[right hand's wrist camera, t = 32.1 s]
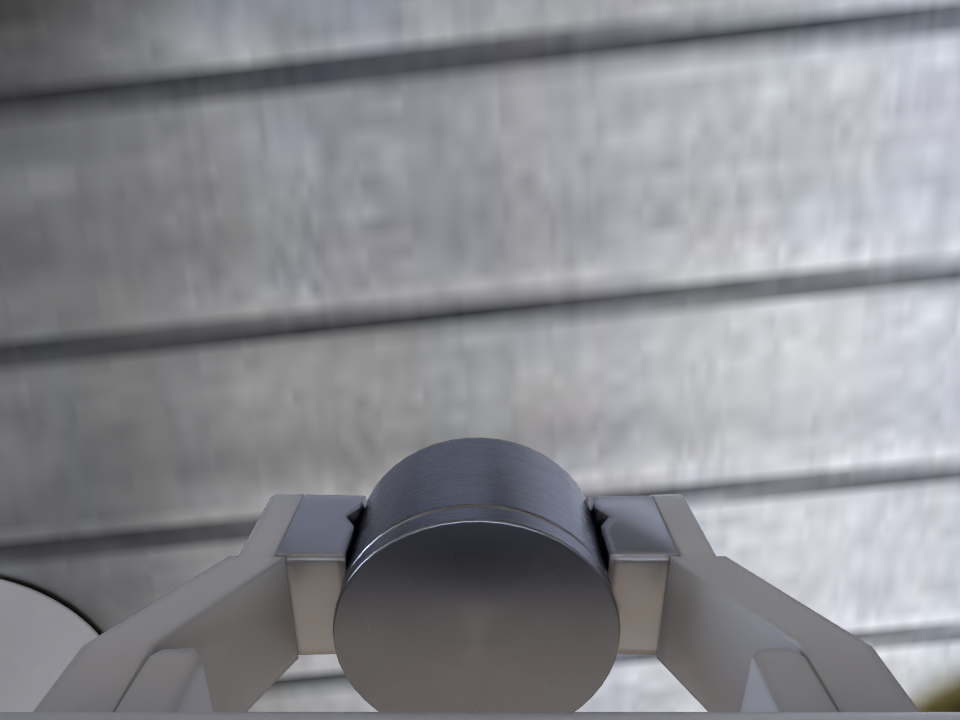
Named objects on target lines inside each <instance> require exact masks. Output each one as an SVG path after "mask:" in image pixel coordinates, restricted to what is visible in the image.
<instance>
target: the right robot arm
mask: <svg viewBox="0 0 960 720" xmlns="http://www.w3.org/2000/svg"><path fill="white" fill-rule="evenodd" d="M366 503H367V499H366V497H365V496H344V495H303V494H300V495H275V496H273V497H271V498H270V500H269V502H268V503H267V505H266V507H265V509H264V511H263V512H262V514H261V516H260V518H259V520H258V522H257V523H256V525H255V527H254V529H253V531H252V532H251V534H250V536H249V538H248V540H247V542H246V543H245V545H244V547H243V549H242V551H241V552H240V554H239V556H229V557H227V558H226V559H224V560H223V561H221V562H219V563H218V564H216V565H214V566H213V567H211V568H209V569H208V570H206V571H204V572H203V573H201V574H200V575H198V576H196V577H195V578H193V579H191V580H190V581H188V582H186V583H185V584H183V585H181V586H180V587H178V588H177V589H175V590H173V591H172V592H170V593H168V594H167V595H165V596H163V597H162V598H160V599H158V600H157V601H155V602H154V603H152V604H150V605H149V606H147V607H145V608H144V609H142V610H140V611H139V612H137V613H136V614H134V615H132V616H131V617H129V618H127V619H126V620H124V621H122V622H121V623H119V624H117V625H116V626H114V627H113V628H111V629H109V630H108V631H106V632H104V633H103V634H101V635H99V634H98V633H97V632H96V631H95V630H94V629H93V628H92V627H91V626H90V625H89V624H88V623H86V622H85V621H84V620H83V619H82V618H81V617H79V616H78V615H77V614H76V613H74V612H73V611H71V610H70V609H68V608H67V607H66V606H64V605H62V604H61V603H59V602H57V601H56V600H54V599H52V598H50V597H48V596H46V595H44V594H42V593H40V592H38V591H35V590H33V589H31V588H28V587H25V586H23V585H20V584H17V583H13V582H10V581H6V580H2V579H0V720H960V712H920V711H919V710H918V709H917V707H916V706H915V705H914V703H913V702H912V701H911V699H910V698H909V696H908V695H907V694H906V692H905V691H904V690H903V688H902V687H901V686H900V684H899V683H898V681H897V680H896V679H895V677H894V676H893V675H892V673H891V672H890V671H889V669H888V668H887V666H886V665H885V664H884V662H883V661H882V660H881V658H880V657H879V656H878V654H877V653H876V651H875V650H874V649H873V647H872V646H870V645H868V644H867V643H865V642H863V641H862V640H860V639H859V638H857V637H855V636H854V635H852V634H850V633H849V632H847V631H846V630H844V629H842V628H841V627H839V626H837V625H836V624H834V623H833V622H831V621H829V620H828V619H826V618H824V617H823V616H821V615H820V614H818V613H816V612H815V611H813V610H811V609H810V608H808V607H807V606H805V605H803V604H802V603H800V602H799V601H797V600H795V599H794V598H792V597H790V596H789V595H787V594H786V593H784V592H782V591H781V590H779V589H777V588H776V587H774V586H773V585H771V584H769V583H768V582H766V581H764V580H763V579H761V578H760V577H758V576H756V575H755V574H753V573H751V572H750V571H748V570H747V569H745V568H743V567H742V566H740V565H738V564H737V563H735V562H734V561H732V560H730V559H729V558H727V557H725V556H716V555H715V553H714V551H713V549H712V548H711V546H710V544H709V542H708V540H707V538H706V537H705V535H704V533H703V531H702V529H701V527H700V526H699V524H698V522H697V520H696V518H695V516H694V515H693V513H692V511H691V509H690V507H689V505H688V504H687V502H686V500H685V498H684V497H683V496H681V495H680V494H669V495H650V496H606V497H589V501H588V505H589V507H590V510H591V514H592V518H593V521H594V525H595V528H596V532H597V536H598V539H599V543H600V546H601V550H602V554H603V557H604V561H605V564H606V568H607V572H608V575H609V579H610V582H611V586H612V590H613V593H614V597H615V600H616V604H617V608H618V612H619V617H620V628H621V630H620V642H619V647H618V651H617V654H644V655H657V658H658V659H659V661H660V662H661V663H662V664H663V665H664V666H665V667H666V668H667V669H668V670H669V671H670V672H671V673H672V674H673V675H674V676H675V677H676V678H677V679H678V680H679V682H680V683H681V684H682V685H683V686H684V687H685V688H686V689H687V690H688V691H689V692H690V693H691V694H692V695H693V696H694V697H695V698H696V699H697V700H698V701H699V703H700V704H701V705H702V706H703V707H704V708H705V709H706V710H707V711H708V712H247V711H248V710H249V709H250V708H251V707H252V706H253V705H254V703H255V702H256V701H257V700H258V699H259V698H260V697H261V696H262V695H263V694H264V693H265V692H266V691H267V690H268V689H269V688H270V687H271V686H272V685H273V684H274V683H275V682H276V681H277V680H278V679H279V678H280V677H281V675H282V674H283V673H284V672H285V671H286V670H287V669H288V668H289V667H290V666H291V665H292V664H293V663H294V662H295V661H296V660H297V659H298V655H311V654H336V651H335V647H334V639H333V617H334V613H335V608H336V603H337V600H338V597H339V593H340V590H341V586H342V583H343V579H344V576H345V573H346V570H347V567H348V563H349V560H350V557H351V553H352V550H353V546H354V543H355V538H356V535H357V532H358V528H359V525H360V522H361V519H362V516H363V512H364V509H365V506H366Z"/></svg>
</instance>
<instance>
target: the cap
mask: <svg viewBox="0 0 960 720" xmlns="http://www.w3.org/2000/svg"><path fill="white" fill-rule="evenodd" d="M620 630H621V628H620V617H619V612H618V608H617V604H616V600H615V597H614V593H613V590H612V586H611V582H610V579H609V575H608V572H607V568H606V564H605V561H604V557H603V554H602V550H601V546H600V543H599V539H598V536H597V532H596V528H595V525H594V521H593V518H592V514H591V510H590V507H589V505H588V503H587V500H586V498H585V496H584V494H583V493H582V491H581V490H580V488H579V486H578V485H577V483H576V482H575V481H574V480H573V479H572V478H571V477H570V475H569V474H568V473H567V472H566V471H564V470H563V469H562V468H561V467H560V466H559V465H558V464H556V463H555V462H553V461H552V460H550V459H549V458H547V457H546V456H544V455H543V454H541V453H539V452H537V451H535V450H533V449H531V448H528V447H525V446H522V445H520V444H517V443H513V442H509V441H504V440H500V439H491V438H463V439H455V440H449V441H445V442H441V443H437V444H434V445H432V446H429V447H426V448H424V449H421V450H419V451H417V452H416V453H414V454H412V455H410V456H408V457H406V458H405V459H404V460H402V461H401V462H399V463H398V464H397V465H395V466H394V467H393V468H392V469H391V470H390V471H389V472H388V473H387V474H386V475H385V476H383V478H382V479H381V480H380V482H379V483H378V484H377V485H376V487H375V488H374V490H373V492H372V493H371V495H370V497H369V499H368V501H367V503H366V506H365V509H364V512H363V516H362V519H361V522H360V525H359V528H358V532H357V535H356V538H355V543H354V546H353V550H352V553H351V557H350V560H349V563H348V567H347V570H346V573H345V576H344V579H343V583H342V586H341V590H340V593H339V597H338V600H337V603H336V608H335V613H334V617H333V639H334V647H335V651H336V654H337V657H338V660H339V663H340V666H341V668H342V670H343V672H344V674H345V676H346V677H347V679H348V680H349V682H350V683H351V685H352V686H353V687H354V689H355V690H356V691H357V692H358V693H359V694H360V695H361V696H362V698H363V699H364V700H365V701H367V702H368V703H369V704H370V705H371V706H372V707H374V708H375V709H376V710H377V711H379V712H575V711H576V710H577V709H579V708H580V707H581V706H582V705H584V704H585V703H586V702H587V701H588V700H589V699H590V698H591V697H592V696H593V695H594V694H595V693H596V691H597V690H598V689H599V688H600V687H601V685H602V684H603V682H604V681H605V679H606V678H607V676H608V674H609V673H610V671H611V668H612V666H613V664H614V661H615V659H616V655H617V651H618V647H619V642H620Z"/></svg>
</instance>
